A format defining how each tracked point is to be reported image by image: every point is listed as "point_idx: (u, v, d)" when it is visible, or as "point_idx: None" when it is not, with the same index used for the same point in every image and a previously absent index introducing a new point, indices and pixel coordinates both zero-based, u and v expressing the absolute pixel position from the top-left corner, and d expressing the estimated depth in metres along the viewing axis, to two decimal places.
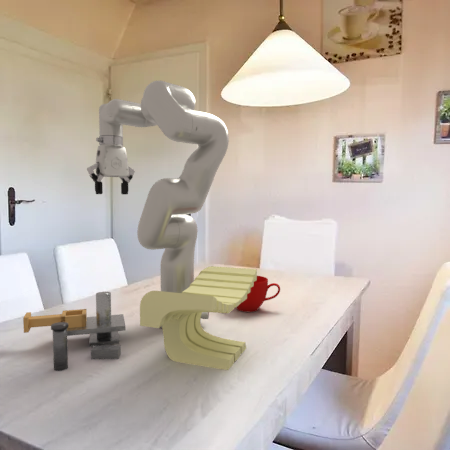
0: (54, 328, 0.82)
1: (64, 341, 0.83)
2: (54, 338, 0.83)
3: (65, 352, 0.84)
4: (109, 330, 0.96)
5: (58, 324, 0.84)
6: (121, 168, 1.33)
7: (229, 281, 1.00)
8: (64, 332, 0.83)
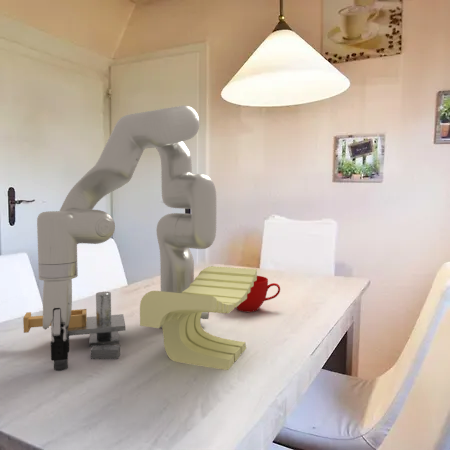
0: None
1: None
2: None
3: None
4: (109, 330, 0.96)
5: None
6: None
7: (229, 281, 1.00)
8: None
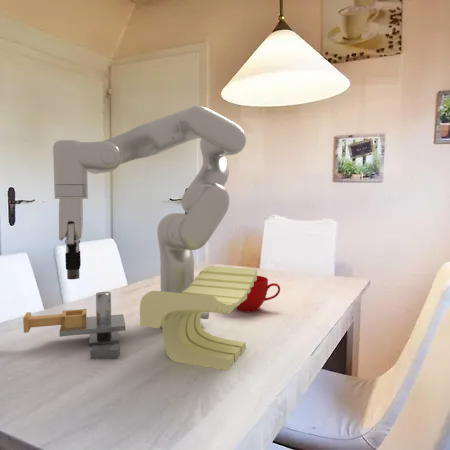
0: None
1: None
2: None
3: None
4: (109, 330, 0.96)
5: None
6: None
7: (229, 281, 1.00)
8: None
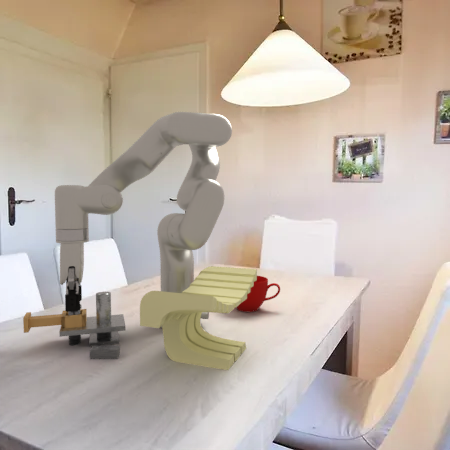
0: None
1: None
2: None
3: None
4: (109, 330, 0.96)
5: None
6: None
7: (229, 281, 1.00)
8: (78, 312, 0.98)
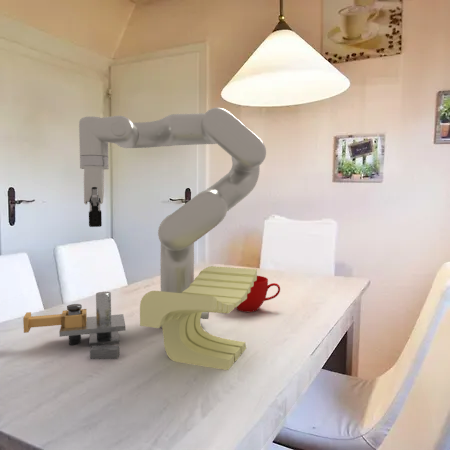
0: (70, 308, 0.97)
1: None
2: None
3: None
4: (109, 330, 0.96)
5: (73, 305, 0.98)
6: None
7: (229, 281, 1.00)
8: (78, 312, 0.98)
